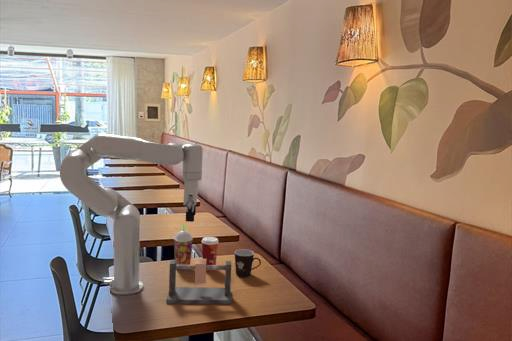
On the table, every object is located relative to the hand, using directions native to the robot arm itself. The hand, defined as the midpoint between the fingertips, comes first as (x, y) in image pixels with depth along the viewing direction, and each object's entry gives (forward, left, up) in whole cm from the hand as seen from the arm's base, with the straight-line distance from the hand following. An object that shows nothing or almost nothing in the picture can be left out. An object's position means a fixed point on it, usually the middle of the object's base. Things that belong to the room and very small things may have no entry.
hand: (190, 218), depth 171 cm
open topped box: (+5, -11, -21) cm, 25 cm away
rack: (+5, -11, -28) cm, 31 cm away
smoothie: (-4, +19, -28) cm, 35 cm away
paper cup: (+8, +18, -28) cm, 35 cm away
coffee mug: (+24, +11, -28) cm, 39 cm away
